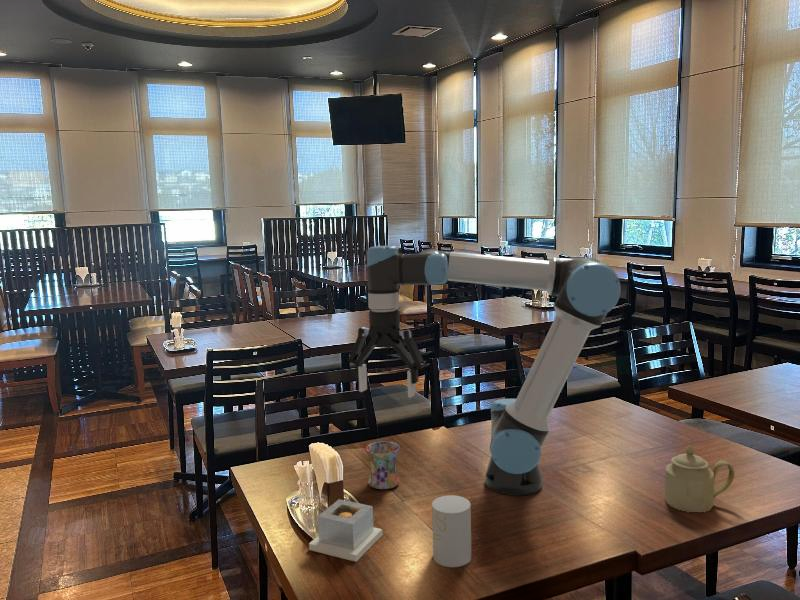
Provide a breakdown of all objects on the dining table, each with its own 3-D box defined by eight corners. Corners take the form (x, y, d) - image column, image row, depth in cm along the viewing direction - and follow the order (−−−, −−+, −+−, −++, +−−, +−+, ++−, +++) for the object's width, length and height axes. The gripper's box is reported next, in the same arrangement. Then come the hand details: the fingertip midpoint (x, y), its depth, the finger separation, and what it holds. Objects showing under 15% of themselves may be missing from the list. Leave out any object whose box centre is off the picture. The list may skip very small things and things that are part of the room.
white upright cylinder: (430, 547, 140) (429, 496, 138) (467, 545, 141) (466, 494, 139) (436, 568, 132) (434, 514, 130) (474, 565, 133) (473, 511, 131)
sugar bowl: (699, 487, 166) (702, 432, 163) (735, 505, 155) (738, 446, 153) (654, 498, 160) (656, 441, 158) (688, 517, 150) (690, 456, 148)
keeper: (382, 535, 146) (381, 508, 145) (356, 561, 135) (355, 533, 134) (337, 525, 151) (336, 499, 150) (309, 549, 141) (307, 522, 140)
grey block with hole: (373, 530, 145) (372, 506, 144) (353, 550, 137) (352, 524, 136) (339, 523, 149) (338, 499, 148) (318, 541, 141) (317, 516, 140)
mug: (404, 489, 169) (403, 451, 168) (370, 494, 167) (369, 456, 166) (393, 471, 181) (392, 436, 179) (361, 476, 179) (360, 440, 177)
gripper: (437, 308, 153) (439, 393, 156) (347, 304, 164) (351, 384, 167) (424, 314, 147) (426, 402, 150) (332, 309, 158) (336, 392, 161)
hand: (387, 393), depth 159 cm, fingers open, 13 cm apart
